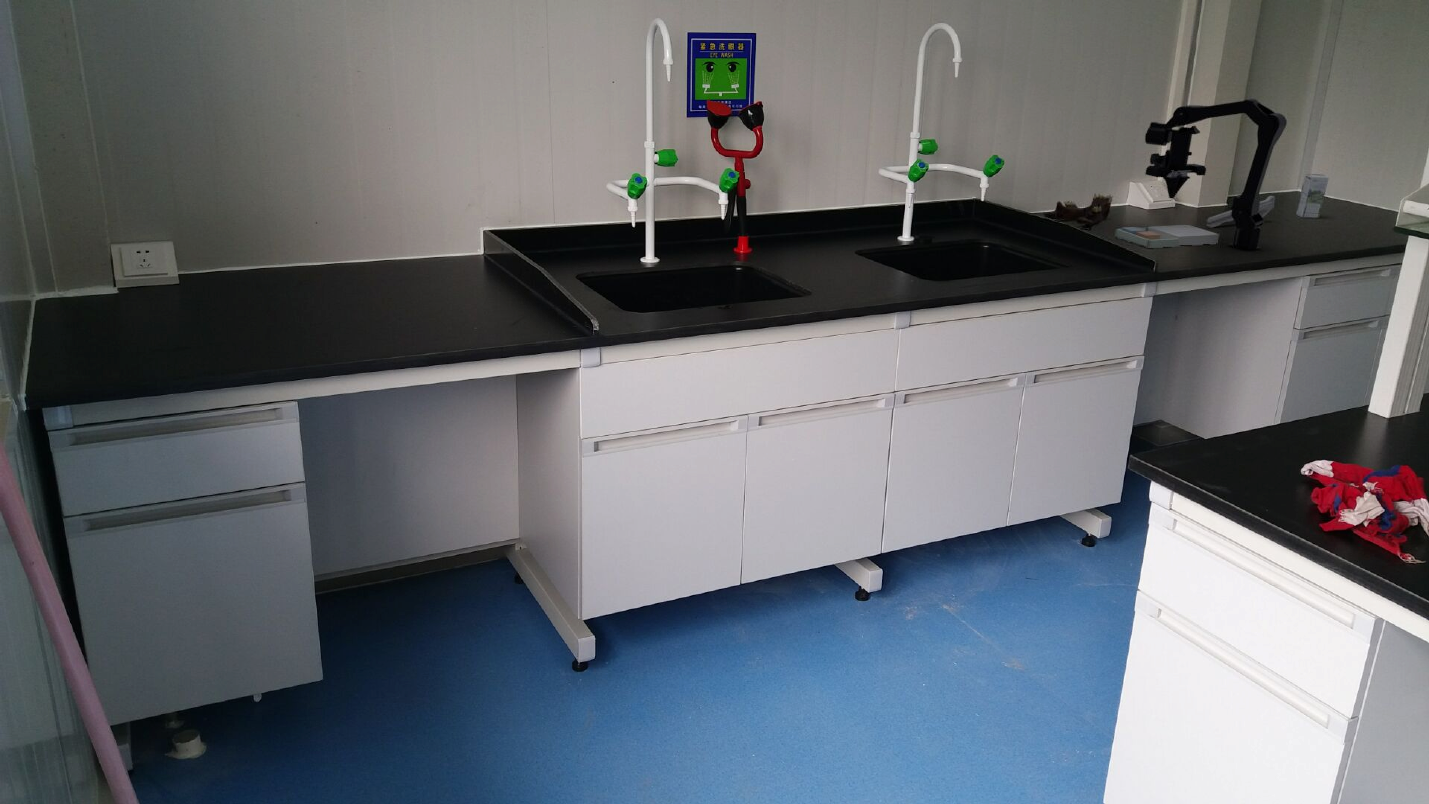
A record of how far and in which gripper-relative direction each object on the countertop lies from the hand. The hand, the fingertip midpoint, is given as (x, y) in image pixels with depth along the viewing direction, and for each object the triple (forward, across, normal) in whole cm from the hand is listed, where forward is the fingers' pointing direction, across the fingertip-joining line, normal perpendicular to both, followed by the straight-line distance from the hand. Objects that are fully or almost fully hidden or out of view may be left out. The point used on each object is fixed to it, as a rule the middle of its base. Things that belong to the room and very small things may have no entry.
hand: (1171, 198), depth 340 cm
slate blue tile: (+8, +15, +3) cm, 18 cm away
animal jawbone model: (+12, +14, -20) cm, 27 cm away
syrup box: (+12, -71, -11) cm, 72 cm away
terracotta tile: (+8, +15, +9) cm, 19 cm away
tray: (+11, +14, +8) cm, 20 cm away
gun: (+12, -36, -6) cm, 38 cm away
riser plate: (+12, +1, +8) cm, 14 cm away
